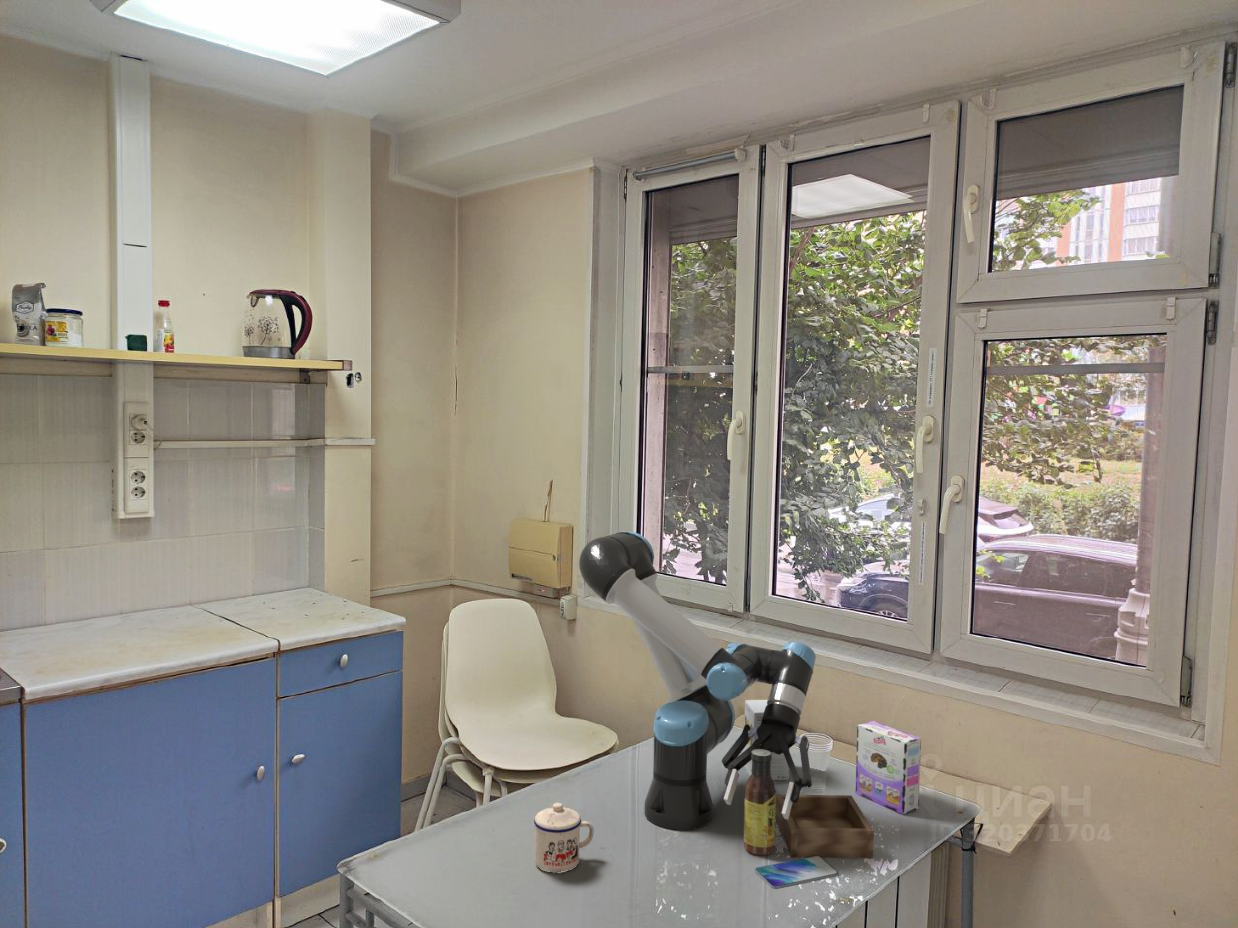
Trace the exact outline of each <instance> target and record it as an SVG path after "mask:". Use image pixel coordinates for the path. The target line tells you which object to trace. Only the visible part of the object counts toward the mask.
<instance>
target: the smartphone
mask: <svg viewBox="0 0 1238 928" xmlns="http://www.w3.org/2000/svg"><path fill="white" fill-rule="evenodd" d="M754 872H755V874H756V875H757V876H758V877H760V879H761V880H762V881H763V882H765V883H766V884H767V885H768V886H769V887H770V888H771V889H772V890H777V889H782V888H786V887H787V888H788V887H791V886H796V885H801V884H805V883H810V882H815V881H819V880H824V879H829V878H834V877H839V875H840V873H839V871H838V870H837V869H836V868H835V867H834V866H832V865H831V864H830V863H829V862H828V861H826V859H824V858H822V857H821V856H813V857H801V858H799V859H798V858H797V859H793V860H789V861H783V862H778V863H774V864H768V865H763V866H759V867H755V869H754Z"/></svg>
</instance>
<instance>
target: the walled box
mask: <svg viewBox="0 0 1238 928" xmlns="http://www.w3.org/2000/svg"><path fill="white" fill-rule="evenodd" d="M785 798H786V794H777V793H776V816H775V823H776V825H777V827H778V829H779V832H780V834H781V837H782V840H783V842H784V844H785V846H786V848H787V851H788V855H789V856H790V858H807V857H813V856H821V857H822V858H823V859H824V858H826V859H827V858H829V859H874V847H875V845H874V844H875V843H874V841H875V830H874V829H873V827H872V826H871V824H870V822H869V821H868V819H867V817H866V816H865V815H864V812H863V811H862V810H861V808H860V806H859V805H858V803H857V802H856V800H855V798H854V797H853V796H852V795H851V794H849V795H847V794H846V795H843V794H842V795H839V794H837V795H835V794H834V795H833V794H800V795H799V799H798V802H797V803H794V802H793V803H792V807H791V810H790V814H789V818H788V820H787V819H784V817H783V815H782V809H783V805H784V802H785Z"/></svg>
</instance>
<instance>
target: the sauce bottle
mask: <svg viewBox="0 0 1238 928" xmlns="http://www.w3.org/2000/svg"><path fill="white" fill-rule="evenodd" d="M771 755H772V754H771V752H770V751H768V750H765V749H755V750H753V751H752V752H751V759H752V769H751V772H752V774H751V776H749V777H748V778H747V781H746V783H745V788H744V789H745V796H744V807H743V808H744V811H743V812H744V813H743V841H744V842H743V847H744V849H745V851H747V853H749V854H752V855H754V856H755V855H756V856H766V855H770V854H772V853H773V851H774V849H775V843H776V820H775V816H776V794H777V789H776V787H775V784H774V780H772V777H771V774H770V773H771V771H770V766H771V764H770V762H771V759H772V756H771Z"/></svg>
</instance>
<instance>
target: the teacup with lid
mask: <svg viewBox="0 0 1238 928" xmlns="http://www.w3.org/2000/svg"><path fill="white" fill-rule="evenodd" d="M533 823H534V828H535V829H534V832H535V833H534V864H535V863H536V864H535V866H536V865H537V866H538V867H540V868H541V869H543V870H546V871H550V872H561V871H566V870H570V869H572V868H574V867H575V866H577V864H578V863H579V864H580V849H582V848H584V847H587V846H588V845H589V844H590V843H591V842H592V840H593V839H594V834H595V828H594V826H593V824H592V823H591V822H589V821H585V820H584V821H582V818H581V816H580V814H579V812H577V811H576V810H574V809H572V808H568V807H565V806H564V805H563V804H562V803H561V802H555V803H553V804H552V807H547V808H544V809H542V810H541V811H539V812H537V814H536V815H535V817H534V819H533ZM583 827H588V828H589V832H588V836H587V838H586V839H585V840H583V841H582V842H580V837H581V835H580V833H581V828H583ZM579 864H578V865H579ZM537 866H536V867H537ZM538 867H537V868H538ZM577 867H578V866H577Z"/></svg>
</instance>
